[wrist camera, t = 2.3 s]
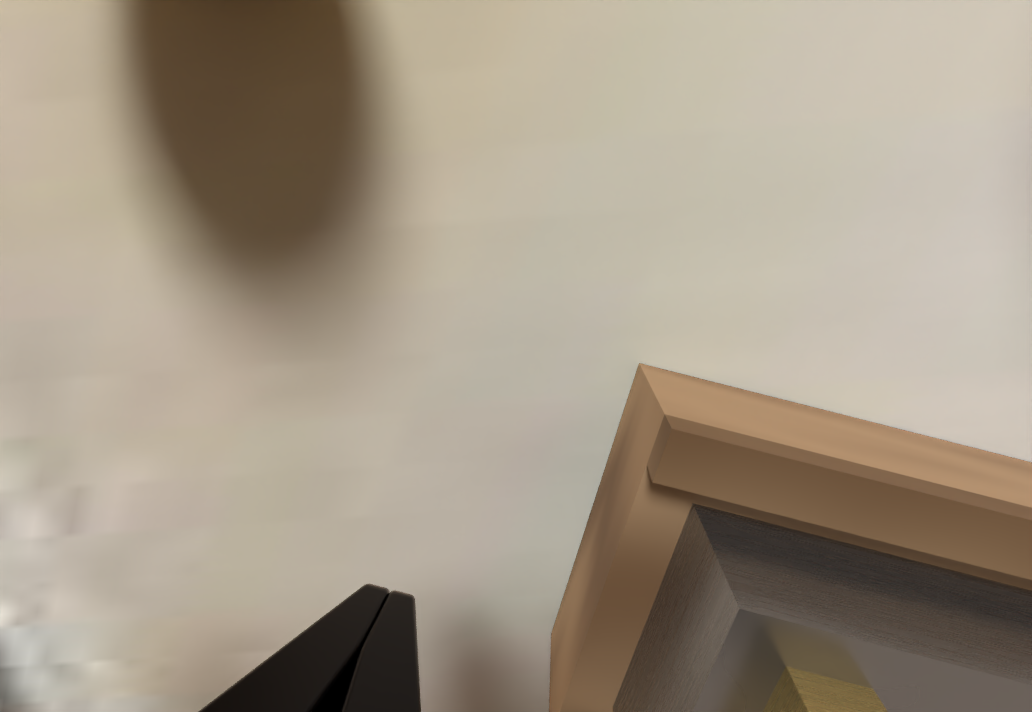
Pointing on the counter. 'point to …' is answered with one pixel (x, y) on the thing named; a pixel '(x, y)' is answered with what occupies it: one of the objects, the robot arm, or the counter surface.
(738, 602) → the lever cap
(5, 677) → the counter surface
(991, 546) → the body
